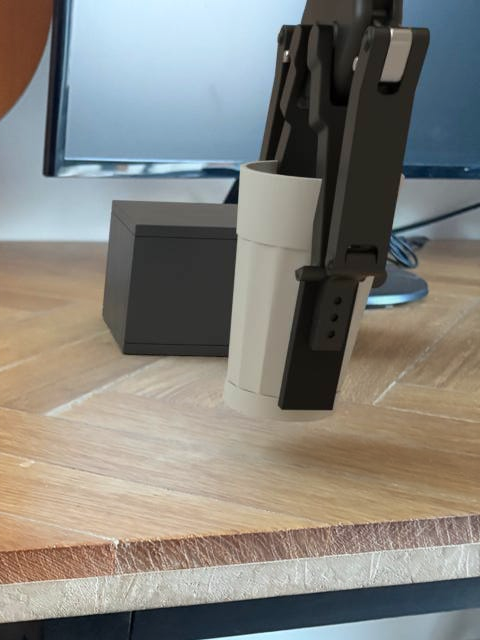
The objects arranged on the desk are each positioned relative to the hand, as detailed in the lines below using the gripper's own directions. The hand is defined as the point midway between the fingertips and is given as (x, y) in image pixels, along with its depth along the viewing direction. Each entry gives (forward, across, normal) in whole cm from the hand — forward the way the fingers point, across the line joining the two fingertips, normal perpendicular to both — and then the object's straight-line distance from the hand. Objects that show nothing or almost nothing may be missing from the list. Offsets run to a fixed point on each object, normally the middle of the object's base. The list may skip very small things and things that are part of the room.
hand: (282, 383), depth 56 cm
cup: (+1, 0, 0) cm, 1 cm away
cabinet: (+4, -26, +2) cm, 26 cm away
